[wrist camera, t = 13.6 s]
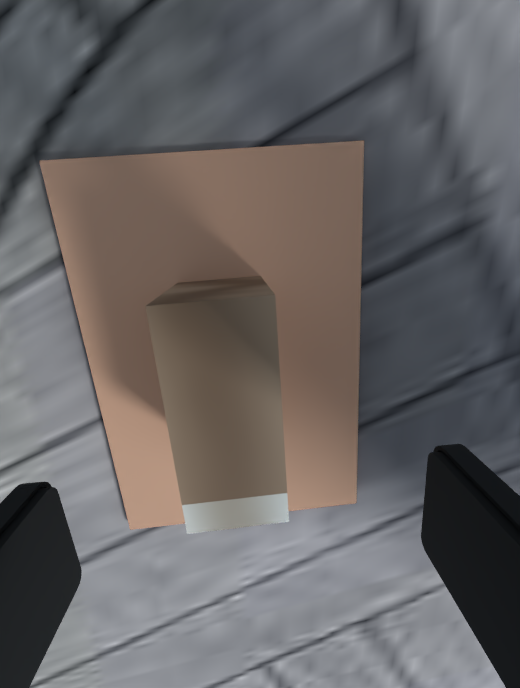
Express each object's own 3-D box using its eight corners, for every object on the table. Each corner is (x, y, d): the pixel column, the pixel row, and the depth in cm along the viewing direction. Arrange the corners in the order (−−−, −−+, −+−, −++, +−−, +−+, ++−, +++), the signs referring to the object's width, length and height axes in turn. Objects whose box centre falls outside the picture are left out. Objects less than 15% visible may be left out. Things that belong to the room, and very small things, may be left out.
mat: (353, 497, 21) (356, 503, 21) (132, 522, 20) (130, 529, 20) (359, 143, 15) (364, 140, 14) (45, 163, 14) (38, 160, 14)
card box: (260, 275, 16) (275, 294, 10) (272, 435, 19) (288, 521, 13) (177, 282, 16) (145, 306, 10) (201, 443, 18) (186, 534, 13)
